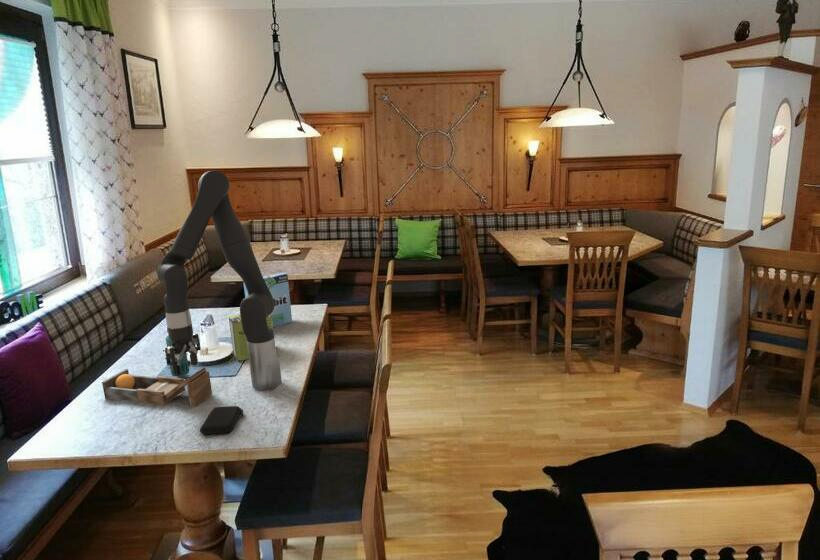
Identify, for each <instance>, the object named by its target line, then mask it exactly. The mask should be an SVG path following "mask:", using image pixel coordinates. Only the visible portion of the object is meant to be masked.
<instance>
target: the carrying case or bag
mask: <svg viewBox="0 0 820 560" xmlns="http://www.w3.org/2000/svg"><path fill="white" fill-rule="evenodd" d="M241 416H242V417H244V410H243V409H242V408H241V407H239V406H237V405H232V406H231V405H230V406H229V405H228V406H215V407H213V408H212V409H211V411H210V412H209V413H208V415H207V416H206V419H205V420H204V422H203V424H202V425H201V426H200V428H199V432H200V434H201V435H203V436H216V435H227V434H228V435H229V434H230V433H231V432H232V431H233V430H234V429H235V427H236V424H237V423H238V421H239V419H240V417H241Z"/></svg>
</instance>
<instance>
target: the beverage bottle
mask: <svg viewBox="0 0 820 560" xmlns="http://www.w3.org/2000/svg"><path fill="white" fill-rule="evenodd" d="M166 329H167V328H166ZM166 332H167V333H168V329H167V331H166ZM165 345H166V347H171V346H172V341H171V340H170V339H169V335H168V334H167V336H166V337H165ZM187 354H188V352H186V353H185V354H184V355H183V358H182V359H181V360H180V367H181V375H180V376H176V375H175V374H174V371H173V366H172V365H169V371H170V373H171V377H174V378H180V377H184V376H186V375H188V374H189V373H190V363H189V360H188V355H187ZM176 355H179V354H177V353H176ZM170 361H171V359H170ZM175 361H177V358H176V359H175Z"/></svg>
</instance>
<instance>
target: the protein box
mask: <svg viewBox="0 0 820 560" xmlns="http://www.w3.org/2000/svg"><path fill="white" fill-rule="evenodd" d="M266 320H267V326H268V327H270V328H272V329H273V331H274V332H275V330H274V327H273V320H272V316H271V315H268V316H267V317H266ZM228 323H229V329H230V338H231V339H230V340H231V346H232V347H231V348H232V353H233V352H234V353H233V355H234V357H235V359H236V361H237V362H240V361H245V360H249V355H248V347H247V339H246V336H245V334H244V332H243V328H242V322H241V316H240V314H236V315H232V316H228ZM274 339H275V337H274ZM275 348H277V347H276V346H275ZM239 360H240V361H239Z"/></svg>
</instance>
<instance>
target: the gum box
mask: <svg viewBox="0 0 820 560" xmlns="http://www.w3.org/2000/svg"><path fill="white" fill-rule="evenodd" d="M263 278H264V280H265V282H266V284H267V286H268V288H269V290H270V292H271V295H272V297H273V299H274V310H273V312H272V313H271V314H270V315H271V316H272V320H273V328H274V327H277V326H282V325H286V324H290V323H291V324H292V323H293V315H292V307H291V306H292V305H291V298H290V285H289V275H288V274H287V273H286V272H280V273H274V274H270V275H264V276H263ZM243 289H244V290H243V291H244V297H245V298H246V297H247V296H249V295H248V292H247V289H246V286H245V284H244V282H243Z"/></svg>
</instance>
